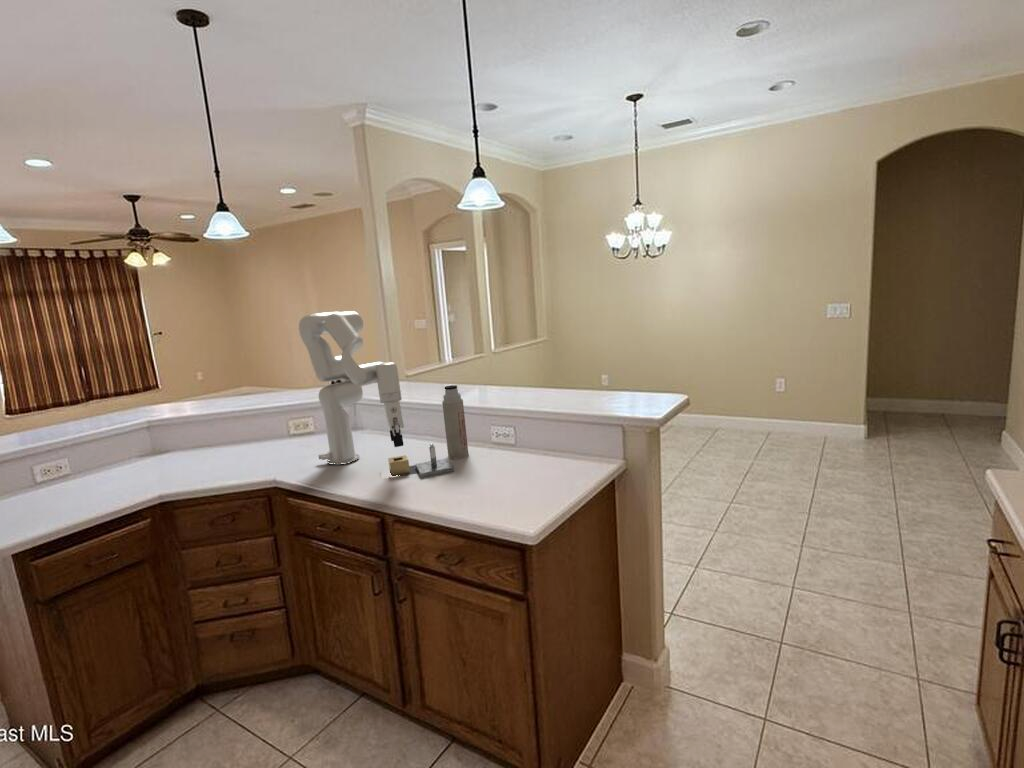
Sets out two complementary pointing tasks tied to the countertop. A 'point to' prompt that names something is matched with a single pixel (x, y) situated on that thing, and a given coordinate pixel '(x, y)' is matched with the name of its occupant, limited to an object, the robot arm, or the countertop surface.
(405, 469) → the collar
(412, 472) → the mat
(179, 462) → the countertop surface
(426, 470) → the grey peg stand
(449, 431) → the thermos bottle
